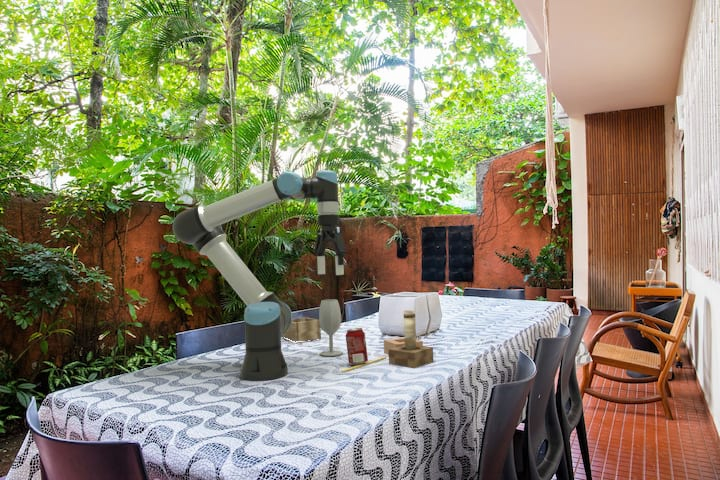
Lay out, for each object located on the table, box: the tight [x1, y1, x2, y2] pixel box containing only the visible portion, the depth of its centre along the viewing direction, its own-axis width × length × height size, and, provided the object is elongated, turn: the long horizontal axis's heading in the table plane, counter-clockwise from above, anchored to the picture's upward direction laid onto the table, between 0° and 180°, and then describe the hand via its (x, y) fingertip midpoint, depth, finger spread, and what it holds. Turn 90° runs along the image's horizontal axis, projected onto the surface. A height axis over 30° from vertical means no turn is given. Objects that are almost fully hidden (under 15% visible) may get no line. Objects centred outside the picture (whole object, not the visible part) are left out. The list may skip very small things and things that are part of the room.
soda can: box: [345, 327, 369, 366], centre depth 176 cm, size 7×7×12 cm
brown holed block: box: [388, 345, 434, 369], centre depth 175 cm, size 11×11×5 cm
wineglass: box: [318, 299, 344, 357], centre depth 195 cm, size 9×9×21 cm
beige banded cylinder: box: [403, 309, 417, 351], centre depth 176 cm, size 4×4×18 cm
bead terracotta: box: [383, 336, 424, 356], centre depth 191 cm, size 11×11×5 cm
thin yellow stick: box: [340, 356, 387, 373], centre depth 175 cm, size 24×1×1 cm, turn 142°
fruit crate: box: [282, 316, 322, 342], centre depth 230 cm, size 13×14×9 cm
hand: (330, 274), depth 178 cm, fingers open, 13 cm apart
